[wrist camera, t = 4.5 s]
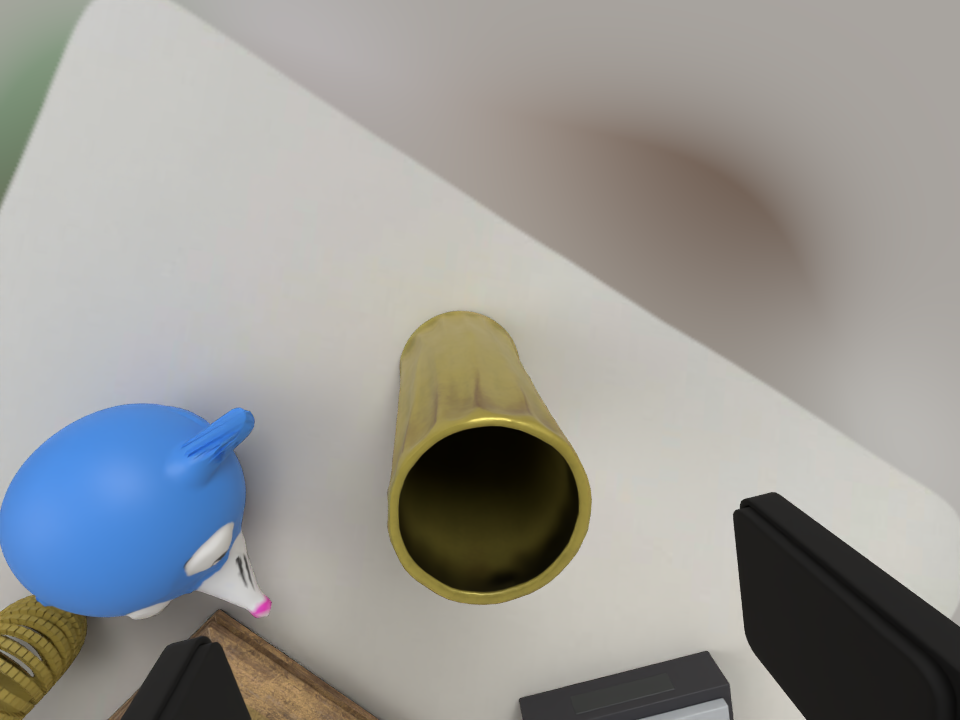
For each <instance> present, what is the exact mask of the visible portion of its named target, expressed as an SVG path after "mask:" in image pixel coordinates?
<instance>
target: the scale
mask: <svg viewBox="0 0 960 720" xmlns="http://www.w3.org/2000/svg"><path fill="white" fill-rule="evenodd" d="M519 701H520V707H521V712H522V717H523V720H733V711H732V702H731V693H730V684H729V682H728V681H727V679H726V678H725V676H724V675H723V673H722V672H721V670H720V669H719V667H718V666H717V664H716V663H715V661H714V660H713V658H712V657H711V655H710V654H709V652H708V651H705V652H701V653H698V654H694V655H690V656H686V657H682V658H678V659H674V660H670V661H666V662H662V663H658V664H654V665H650V666H646V667H642V668H638V669H634V670H631V671H627V672H623V673H619V674H615V675H611V676H607V677H603V678H599V679H595V680H591V681H587V682H583V683H579V684H575V685H571V686H567V687H564V688H560V689H556V690H552V691H548V692H544V693H540V694H536V695H532V696H528V697H524V698H520V699H519Z"/></svg>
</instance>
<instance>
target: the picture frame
mask: <svg viewBox="0 0 960 720" xmlns="http://www.w3.org/2000/svg"><path fill="white" fill-rule="evenodd" d="M200 636H207V637H208V638H209V639H210V640H211V641H212V643H213V642H218V643H220V644H221V646H222V648H223V650H224V652H225V655H226V657H227V660H228V662H229V665H230V667H231V670H232V672H233V675H234V677H235V679H236V682H237V684H238V687H239V689H240V692H241V694H242V697H243V699H244V702H245V704H246V707H247V709H248V711H249V714H250V716H251V719H252V720H379V719H377V718H376V717H374V716H373V715H372V714H370V713H369V712H367V711H366V710H364V709H363V708H361V707H360V706H359V705H357V704H356V703H354V702H353V701H351V700H350V699H348V698H347V697H346V696H344V695H343V694H341V693H340V692H338V691H337V690H335V689H334V688H333V687H331V686H330V685H328V684H327V683H325V682H324V681H322V680H321V679H320V678H318V677H317V676H315V675H314V674H312V673H311V672H309V671H308V670H307V669H305V668H304V667H302V666H301V665H299V664H298V663H296V662H295V661H294V660H292V659H291V658H289V657H288V656H286V655H285V654H283V653H282V652H281V651H279V650H278V649H276V648H275V647H273V646H272V645H270V644H269V643H268V642H266V641H265V640H263V639H262V638H260V637H259V636H257V635H256V634H255V633H253V632H252V631H250V630H249V629H247V628H246V627H244V626H243V625H242V624H240V623H239V622H237V621H236V620H234V619H233V618H231V617H230V616H228V615H227V614H226V613H224V612H223V611H221V610H217V611H216V612H215V613H214V614H213V615H212V616H211V617H210V618H209V619H208V620H207V621H206V622H205V623H204V624H203V625H202V626H201V627H200V628H199V629H198V630H197V631H196V632H195V633H194V634H193V635H192V636H191V637H190V638H189V639H192V638H196V637H200ZM139 689H140V688H139ZM139 689H138V690H137V691H136V692H135V693H134V694H133V695H132V696H131V697H130V698H129V699H128V700H127V701H126V702H125V703H124V704H123V705H122V706H121V707H120V708H119V709H118V710H117V711H116V712H115V713H114V714H113V715H112V716H111V717H110V718H109V719H108V720H120V719H121V718H122V716H123V715H124V713H125V711H126V710H127V708H128V707H129V705H130V703H131V702H132V700H133V699H134V697H135V695H136V694H137V692H138V691H139Z"/></svg>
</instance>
